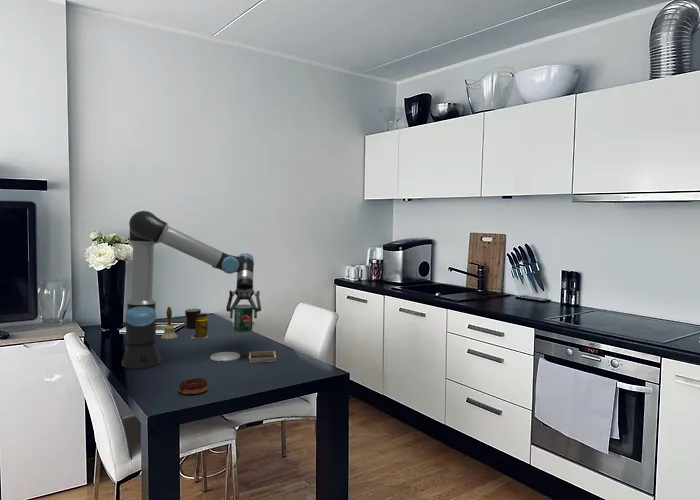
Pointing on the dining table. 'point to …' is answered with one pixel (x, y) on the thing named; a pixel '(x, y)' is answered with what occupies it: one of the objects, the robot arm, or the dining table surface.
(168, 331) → the hand bell
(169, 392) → the dining table surface
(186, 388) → the donut
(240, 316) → the canned tomato
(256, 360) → the wooden tray
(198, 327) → the condiment
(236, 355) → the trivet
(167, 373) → the dining table surface
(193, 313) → the coffee mug
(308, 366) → the dining table surface
